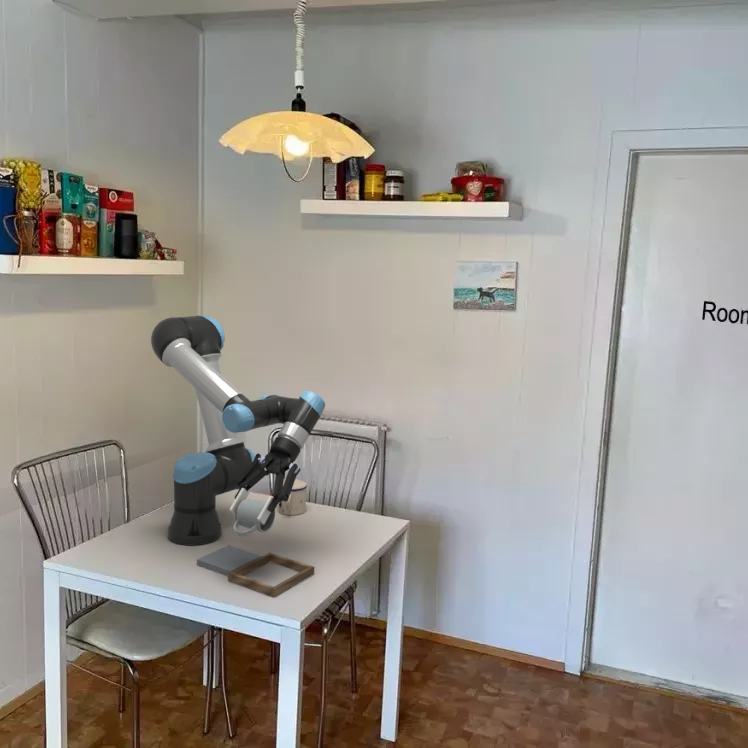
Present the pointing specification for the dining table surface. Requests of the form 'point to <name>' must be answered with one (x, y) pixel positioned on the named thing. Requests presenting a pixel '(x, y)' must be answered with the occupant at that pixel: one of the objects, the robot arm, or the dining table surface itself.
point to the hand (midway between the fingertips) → (246, 516)
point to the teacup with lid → (295, 499)
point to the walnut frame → (264, 588)
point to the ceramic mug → (251, 517)
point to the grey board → (227, 559)
